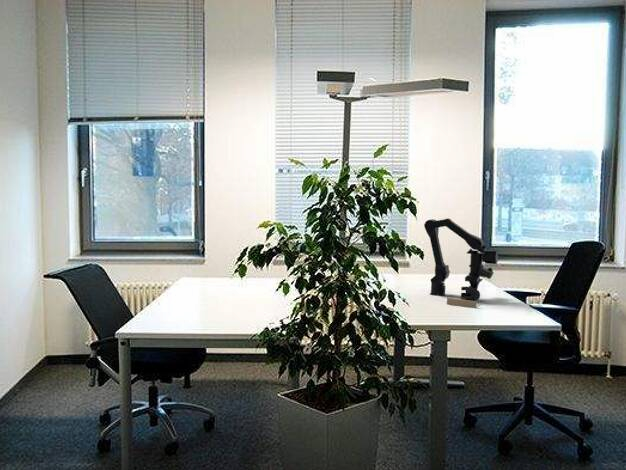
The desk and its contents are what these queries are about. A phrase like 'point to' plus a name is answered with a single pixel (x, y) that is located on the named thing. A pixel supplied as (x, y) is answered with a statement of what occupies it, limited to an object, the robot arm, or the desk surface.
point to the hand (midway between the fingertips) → (475, 293)
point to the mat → (463, 303)
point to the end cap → (470, 294)
